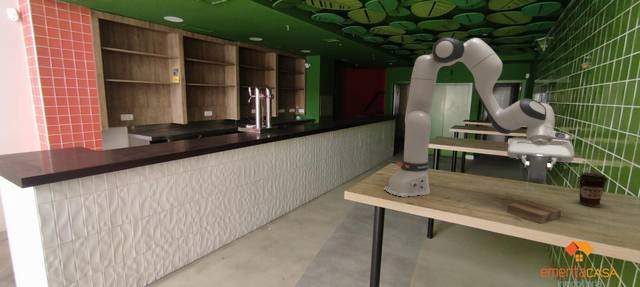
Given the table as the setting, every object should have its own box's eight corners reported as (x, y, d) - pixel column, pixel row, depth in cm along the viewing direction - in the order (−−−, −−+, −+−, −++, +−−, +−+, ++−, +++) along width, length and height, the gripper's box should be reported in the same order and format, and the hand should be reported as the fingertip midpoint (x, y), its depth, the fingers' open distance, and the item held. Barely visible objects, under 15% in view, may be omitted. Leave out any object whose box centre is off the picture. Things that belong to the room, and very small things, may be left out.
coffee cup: (606, 210, 115) (611, 178, 113) (578, 206, 119) (582, 175, 117) (600, 203, 122) (604, 173, 120) (574, 199, 126) (578, 170, 124)
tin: (540, 184, 105) (543, 156, 104) (524, 180, 110) (526, 153, 109) (548, 182, 107) (551, 154, 106) (532, 178, 112) (535, 152, 111)
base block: (540, 223, 103) (541, 215, 102) (506, 212, 114) (507, 204, 113) (559, 217, 108) (560, 210, 107) (525, 206, 119) (526, 199, 118)
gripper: (508, 132, 118) (504, 159, 111) (574, 135, 106) (575, 166, 100) (508, 141, 122) (504, 168, 115) (571, 145, 110) (572, 176, 104)
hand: (537, 167), depth 107 cm, fingers closed on tin, 5 cm apart
